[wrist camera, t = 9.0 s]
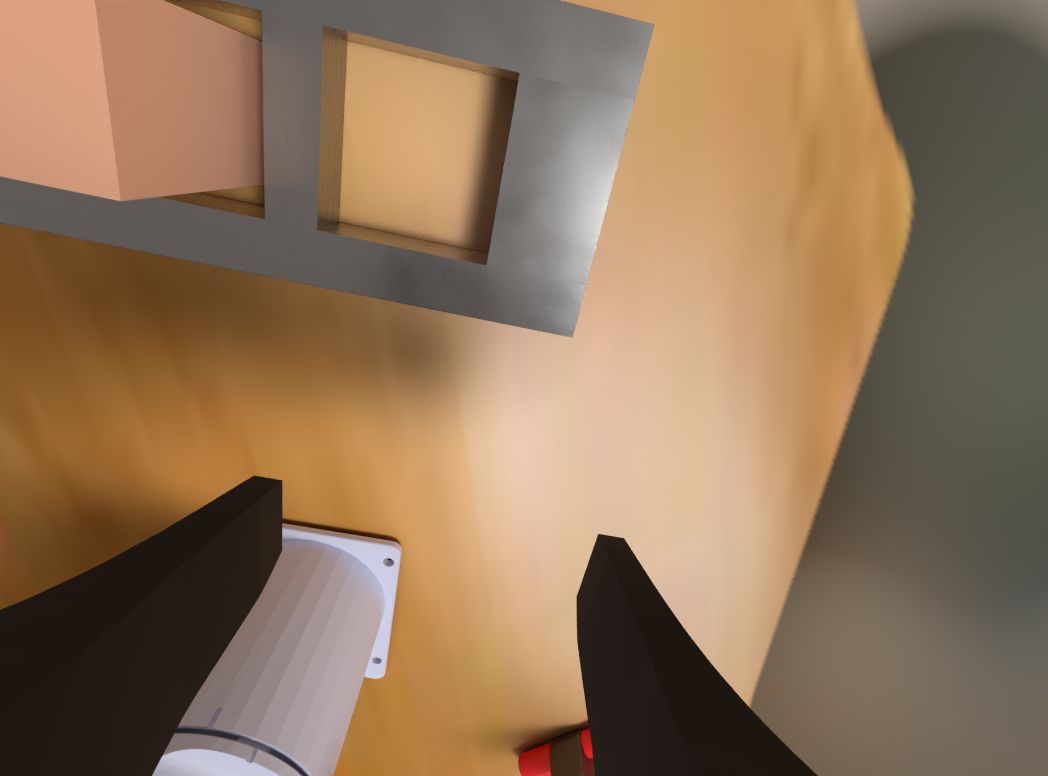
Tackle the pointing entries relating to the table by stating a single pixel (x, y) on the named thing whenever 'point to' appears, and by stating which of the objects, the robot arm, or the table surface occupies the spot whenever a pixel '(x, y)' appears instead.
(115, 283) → the table surface
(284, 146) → the grey slotted board
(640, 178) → the table surface
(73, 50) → the peg
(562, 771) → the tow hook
